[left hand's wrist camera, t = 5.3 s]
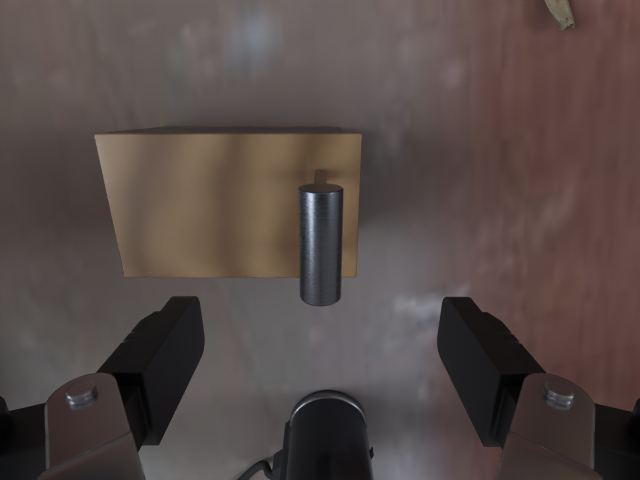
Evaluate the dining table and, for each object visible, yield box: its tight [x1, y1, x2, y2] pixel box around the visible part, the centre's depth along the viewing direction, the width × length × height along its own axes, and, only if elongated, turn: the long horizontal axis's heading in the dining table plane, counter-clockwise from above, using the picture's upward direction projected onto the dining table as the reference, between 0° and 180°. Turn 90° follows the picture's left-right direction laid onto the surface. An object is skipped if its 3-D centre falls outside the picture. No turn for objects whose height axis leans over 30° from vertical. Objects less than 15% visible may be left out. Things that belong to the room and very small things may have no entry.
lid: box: [94, 133, 362, 306], centre depth 21 cm, size 17×10×9 cm, turn 90°
